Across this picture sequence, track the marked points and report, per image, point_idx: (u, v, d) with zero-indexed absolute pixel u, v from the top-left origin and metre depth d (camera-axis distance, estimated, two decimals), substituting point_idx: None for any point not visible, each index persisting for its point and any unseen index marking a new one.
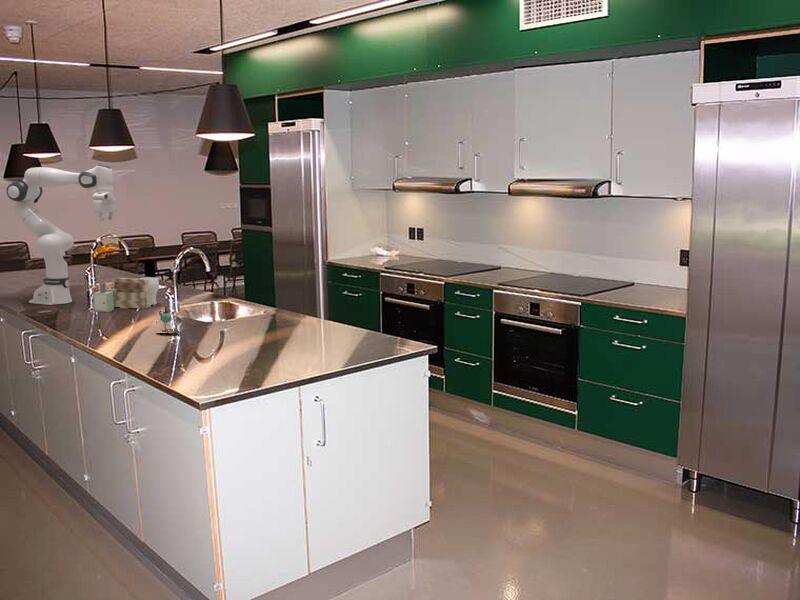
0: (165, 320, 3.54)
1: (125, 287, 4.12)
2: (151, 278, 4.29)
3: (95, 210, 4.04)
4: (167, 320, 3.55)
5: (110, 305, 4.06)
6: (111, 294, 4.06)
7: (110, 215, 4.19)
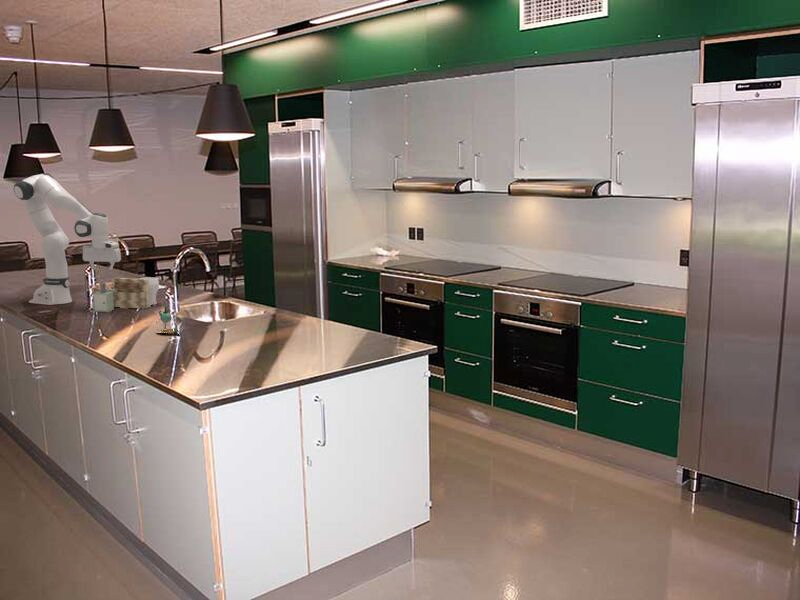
0: (165, 320, 3.55)
1: (125, 287, 4.12)
2: (151, 278, 4.29)
3: (118, 259, 4.00)
4: (167, 320, 3.55)
5: (110, 305, 4.06)
6: (111, 294, 4.06)
7: (93, 265, 4.03)
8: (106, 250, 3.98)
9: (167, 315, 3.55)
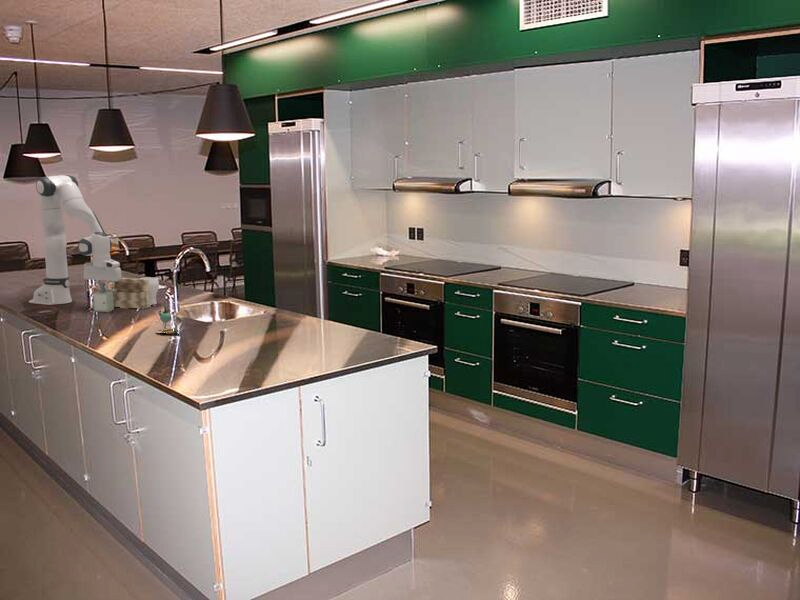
0: (165, 320, 3.55)
1: (125, 287, 4.12)
2: (151, 278, 4.29)
3: (119, 278, 4.02)
4: (167, 320, 3.55)
5: (110, 305, 4.06)
6: (111, 294, 4.06)
7: (99, 283, 4.05)
8: (107, 269, 4.00)
9: (167, 315, 3.55)
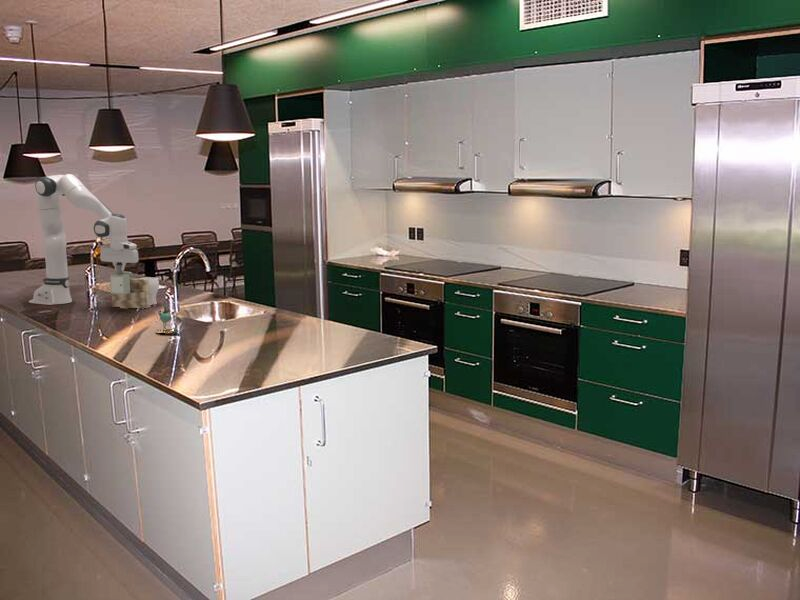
0: (164, 320, 3.55)
1: None
2: (151, 278, 4.29)
3: (136, 260, 4.01)
4: (166, 320, 3.55)
5: (127, 288, 4.05)
6: (128, 276, 4.05)
7: (116, 265, 4.04)
8: (124, 251, 3.99)
9: (167, 315, 3.55)
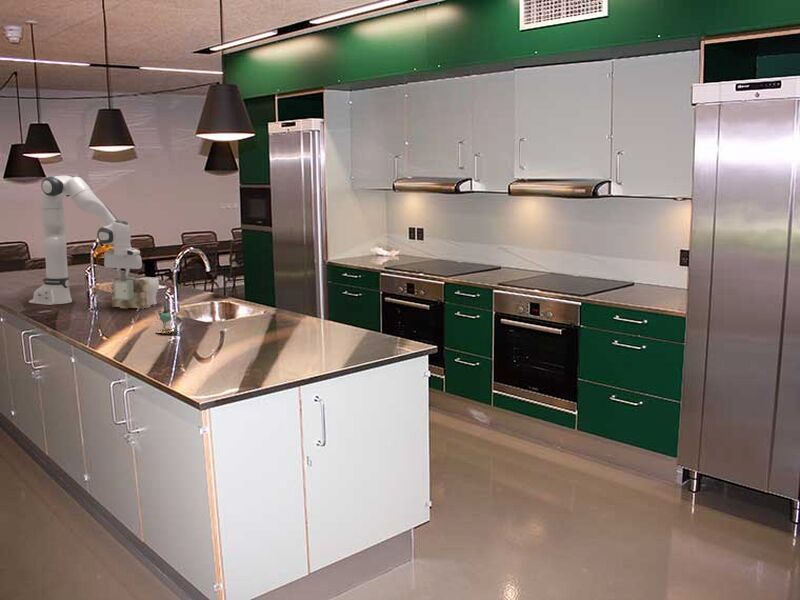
0: (164, 320, 3.55)
1: None
2: (151, 278, 4.29)
3: (140, 266, 4.05)
4: (166, 320, 3.55)
5: (131, 293, 4.09)
6: (132, 282, 4.09)
7: (120, 271, 4.08)
8: (128, 257, 4.03)
9: (166, 315, 3.55)
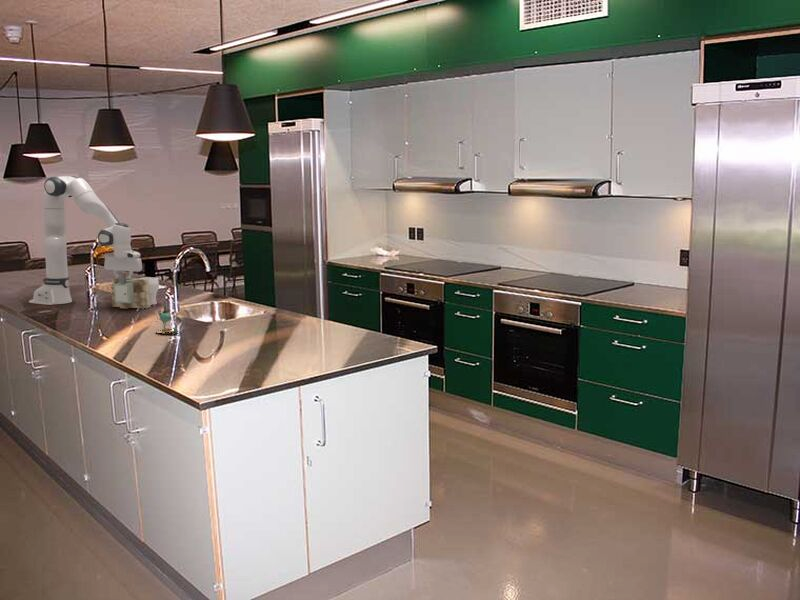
0: (164, 320, 3.55)
1: None
2: (151, 278, 4.29)
3: (140, 269, 4.05)
4: (166, 320, 3.55)
5: (131, 296, 4.10)
6: (131, 285, 4.10)
7: (116, 274, 4.08)
8: (128, 259, 4.03)
9: (166, 315, 3.55)
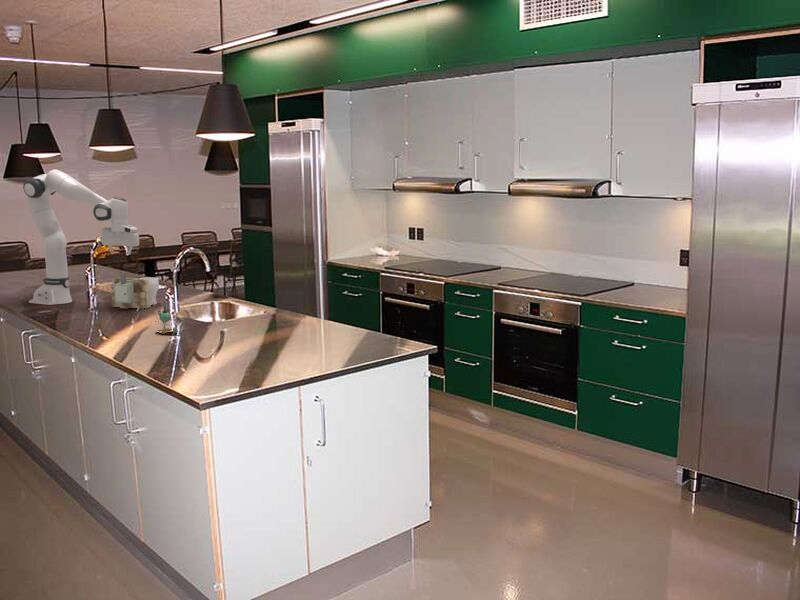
0: (164, 320, 3.55)
1: None
2: (151, 278, 4.29)
3: (137, 244, 4.03)
4: (166, 320, 3.56)
5: (131, 296, 4.10)
6: (131, 285, 4.10)
7: (111, 248, 4.06)
8: (125, 234, 4.01)
9: (166, 315, 3.55)
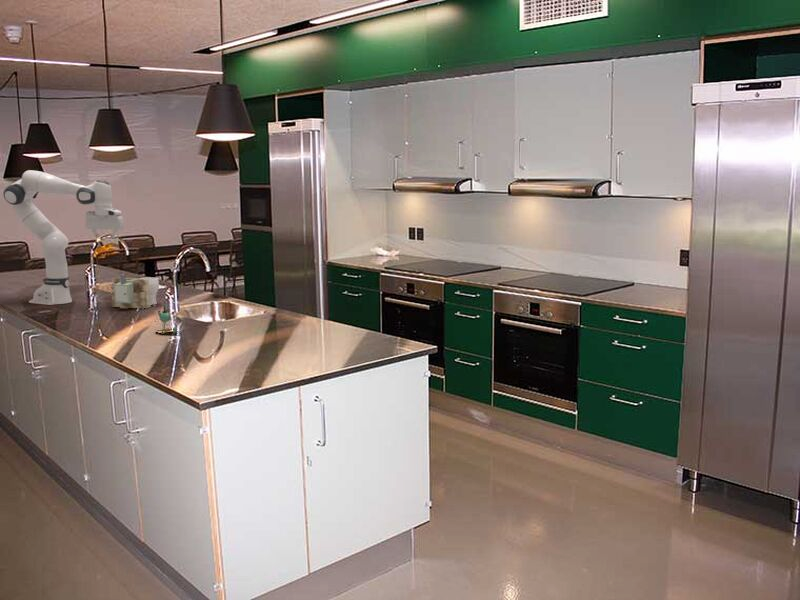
0: (164, 320, 3.55)
1: None
2: (151, 278, 4.29)
3: (121, 227, 4.01)
4: (166, 320, 3.56)
5: (131, 296, 4.10)
6: (131, 285, 4.10)
7: (95, 232, 4.04)
8: (109, 217, 3.99)
9: (166, 315, 3.56)
